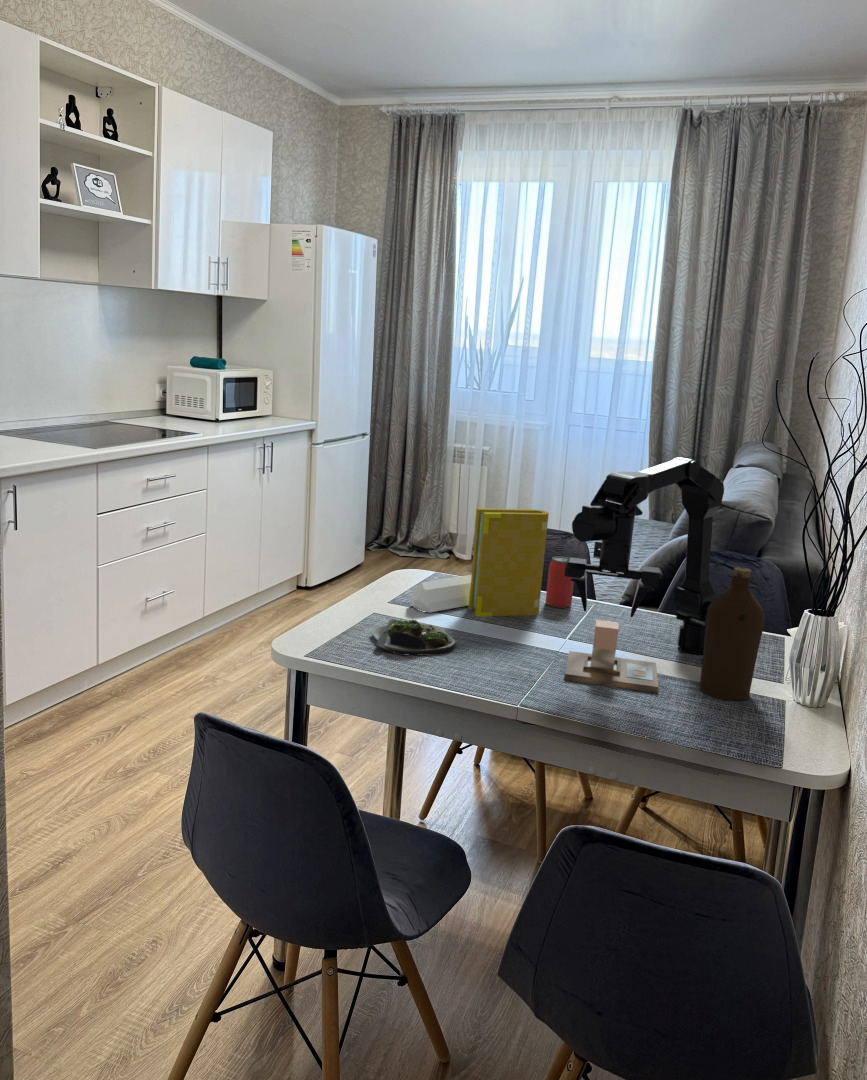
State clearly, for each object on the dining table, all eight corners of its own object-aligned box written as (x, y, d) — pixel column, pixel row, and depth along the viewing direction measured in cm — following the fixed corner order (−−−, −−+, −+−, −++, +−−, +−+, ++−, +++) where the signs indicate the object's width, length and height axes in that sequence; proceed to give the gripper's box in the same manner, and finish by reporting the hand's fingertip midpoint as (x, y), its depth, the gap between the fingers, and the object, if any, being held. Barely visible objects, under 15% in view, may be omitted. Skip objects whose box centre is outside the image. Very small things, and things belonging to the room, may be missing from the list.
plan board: (655, 668, 186) (656, 659, 185) (657, 692, 172) (659, 683, 172) (568, 656, 189) (569, 647, 189) (564, 679, 176) (565, 669, 175)
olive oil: (764, 699, 173) (784, 575, 167) (721, 704, 169) (740, 577, 163) (726, 679, 182) (744, 561, 177) (685, 683, 178) (702, 563, 173)
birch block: (613, 664, 183) (615, 643, 182) (613, 671, 178) (615, 650, 177) (591, 661, 183) (593, 640, 182) (590, 668, 179) (592, 647, 178)
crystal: (429, 602, 207) (502, 589, 223) (413, 581, 211) (486, 570, 226) (417, 624, 211) (490, 610, 227) (402, 602, 215) (475, 590, 231)
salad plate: (356, 628, 198) (357, 608, 197) (432, 625, 204) (433, 606, 203) (381, 659, 180) (382, 638, 179) (463, 655, 186) (464, 634, 185)
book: (476, 616, 212) (485, 513, 206) (468, 608, 218) (476, 507, 212) (542, 615, 216) (553, 514, 211) (532, 607, 223) (542, 509, 217)
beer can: (563, 610, 222) (568, 563, 219) (540, 604, 226) (545, 558, 223) (575, 605, 227) (580, 559, 224) (553, 599, 231) (558, 554, 228)
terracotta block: (616, 643, 181) (618, 622, 180) (615, 650, 177) (618, 629, 176) (593, 640, 182) (596, 619, 181) (593, 647, 178) (595, 626, 177)
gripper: (664, 535, 181) (654, 608, 184) (571, 524, 184) (564, 597, 188) (666, 546, 170) (656, 624, 174) (568, 535, 174) (560, 611, 177)
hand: (608, 613), depth 178 cm, fingers open, 9 cm apart
